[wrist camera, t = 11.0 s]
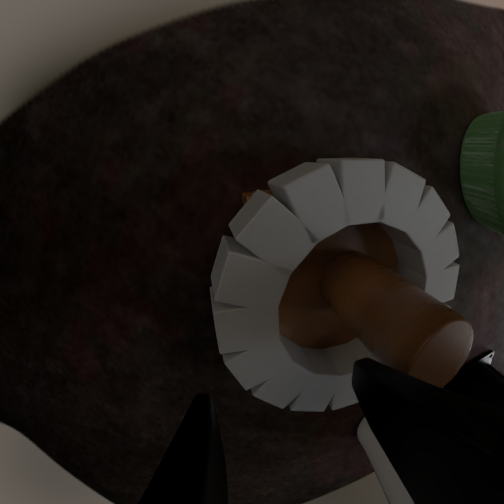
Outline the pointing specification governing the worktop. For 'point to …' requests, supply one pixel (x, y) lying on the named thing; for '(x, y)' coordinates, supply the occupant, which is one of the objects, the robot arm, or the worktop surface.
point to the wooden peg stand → (371, 306)
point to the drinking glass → (382, 466)
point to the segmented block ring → (292, 254)
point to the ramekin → (484, 170)
